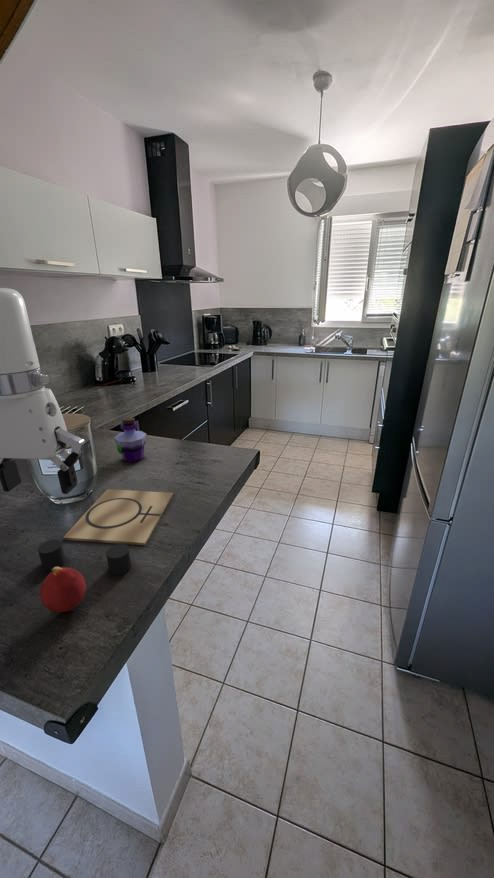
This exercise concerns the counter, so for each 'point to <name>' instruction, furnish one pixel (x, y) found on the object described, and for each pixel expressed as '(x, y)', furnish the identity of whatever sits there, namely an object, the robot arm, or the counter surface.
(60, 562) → the dot
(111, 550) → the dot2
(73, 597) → the onion
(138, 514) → the board
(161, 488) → the counter surface
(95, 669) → the counter surface
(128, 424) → the potion bottle
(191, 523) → the counter surface
